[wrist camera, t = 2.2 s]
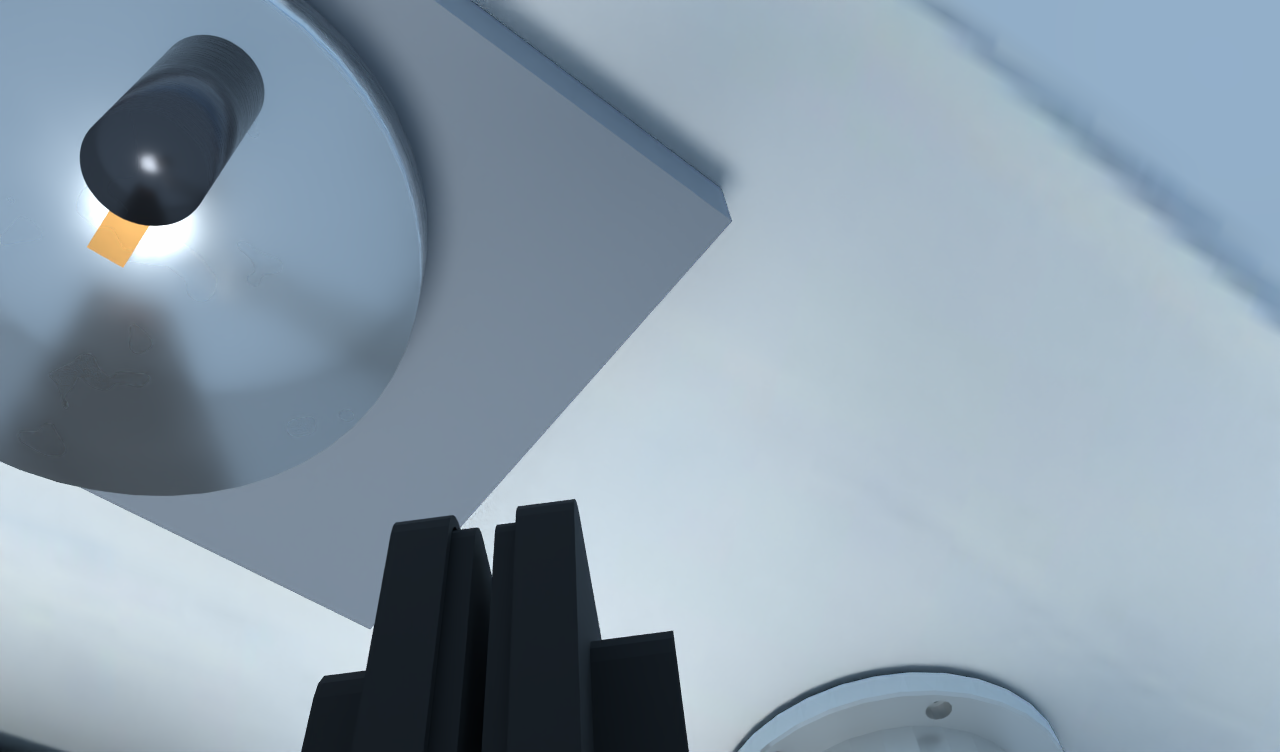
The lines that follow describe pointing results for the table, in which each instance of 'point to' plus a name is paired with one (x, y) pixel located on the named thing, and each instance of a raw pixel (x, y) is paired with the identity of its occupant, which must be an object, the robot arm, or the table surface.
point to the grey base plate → (471, 297)
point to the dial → (195, 241)
